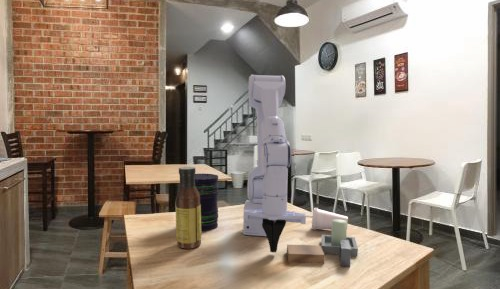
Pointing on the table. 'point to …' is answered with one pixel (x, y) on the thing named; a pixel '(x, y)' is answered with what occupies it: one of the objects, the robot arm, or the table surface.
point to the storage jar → (208, 200)
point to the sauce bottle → (188, 210)
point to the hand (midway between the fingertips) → (273, 250)
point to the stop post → (345, 253)
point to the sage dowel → (338, 231)
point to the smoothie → (324, 219)
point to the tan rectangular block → (305, 254)
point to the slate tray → (336, 249)
